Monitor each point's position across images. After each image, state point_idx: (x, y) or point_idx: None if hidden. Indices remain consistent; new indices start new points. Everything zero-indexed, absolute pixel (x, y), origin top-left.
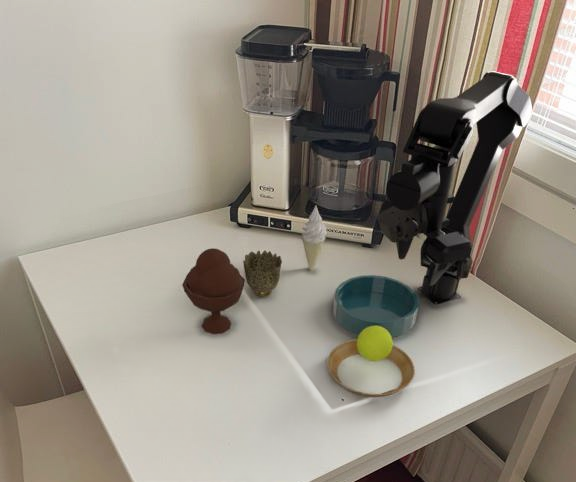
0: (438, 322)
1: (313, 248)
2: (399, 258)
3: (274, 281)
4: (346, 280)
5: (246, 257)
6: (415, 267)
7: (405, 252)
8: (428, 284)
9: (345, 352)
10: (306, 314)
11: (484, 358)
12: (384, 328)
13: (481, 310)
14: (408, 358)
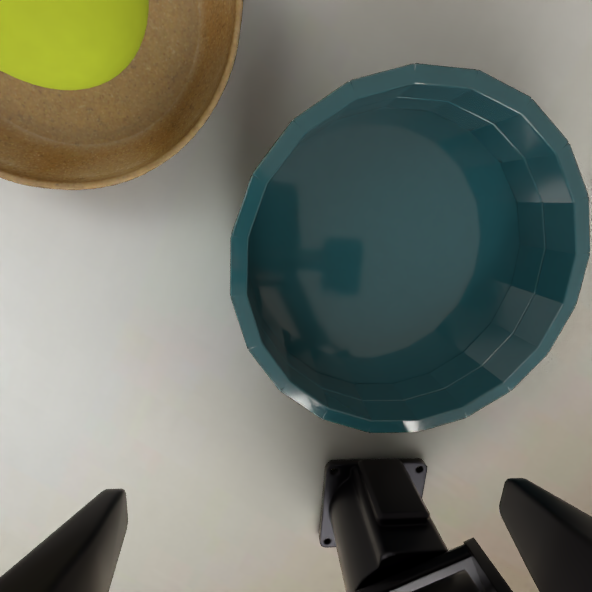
0: (255, 426)
1: None
2: (517, 481)
3: None
4: (588, 227)
5: None
6: None
7: (537, 559)
8: (114, 490)
9: None
10: (526, 15)
11: (38, 448)
12: (7, 4)
13: (250, 559)
14: (35, 179)
